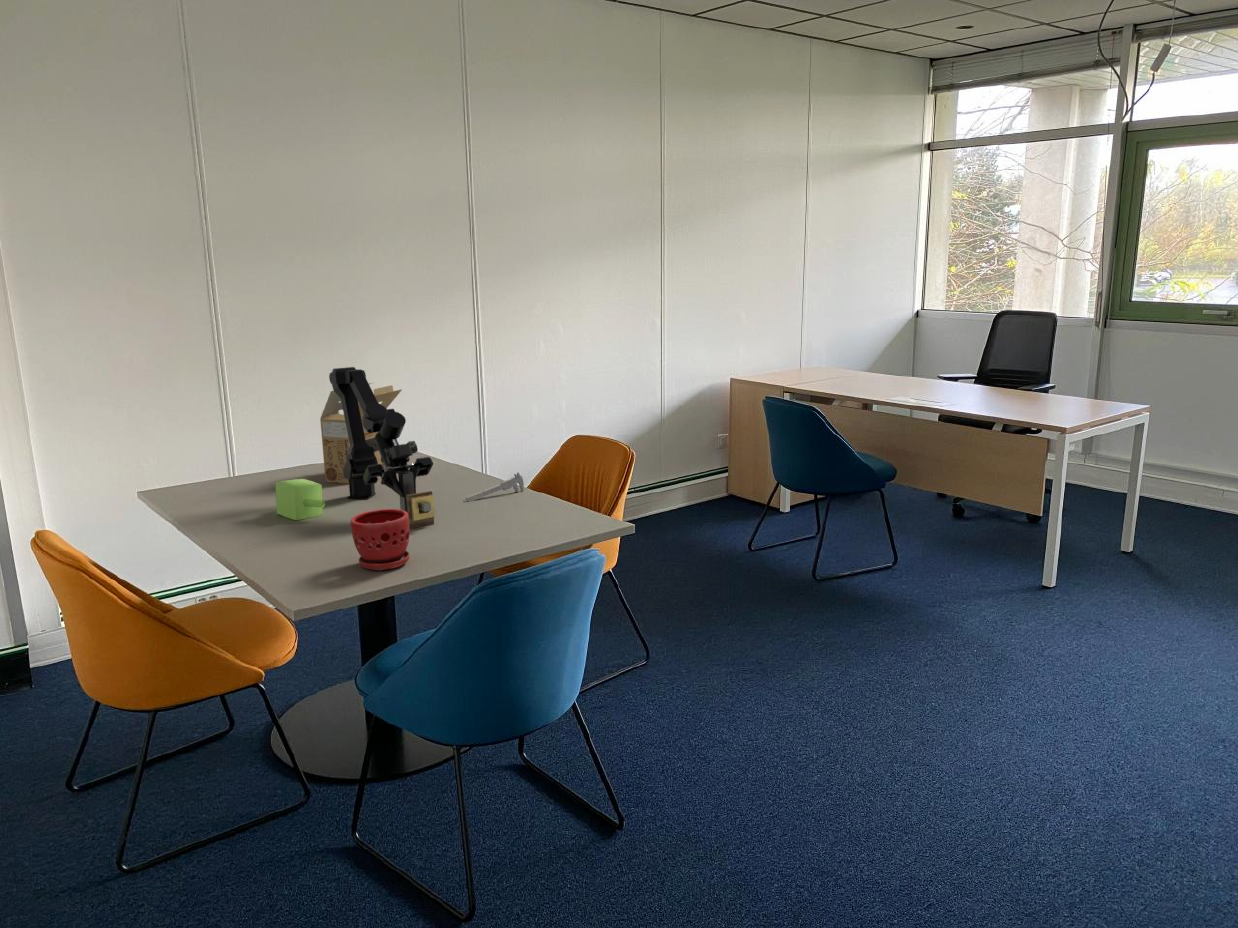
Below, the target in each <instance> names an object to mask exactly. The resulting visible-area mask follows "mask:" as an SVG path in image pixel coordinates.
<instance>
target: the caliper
mask: <svg viewBox="0 0 1238 928" xmlns="http://www.w3.org/2000/svg"><path fill="white" fill-rule="evenodd" d="M513 476H514V477H511V478H508V479H506V480H503V481H501V482H500V483H499V484H497V485H494V486H492V487H489V488H487V489H484V490H481V491H478V492H476V493H474V494H471V495H468V496H466V497H465V499H463V500H462V502H463V503H467V502H473V500H474V501H475V500H476V501H477V500H478V499H481V498H483V497H486V496H489V495H491V494H493V493H497V492H499V491H501V490H502V491H503V492H505V491H507V490H510V489H511V488H513V489H514V491H515V493H519V492H524V491H525V488H524V487H525V486H524V485H525V483H524V479H523V476H522V475H521V474H520V472H516V473H514V474H513ZM518 486H519V487H518ZM519 489H520V491H519Z"/></svg>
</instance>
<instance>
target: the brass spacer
mask: <svg viewBox="0 0 1238 928" xmlns="http://www.w3.org/2000/svg"><path fill="white" fill-rule="evenodd" d="M422 502H429V503H431V511H427V512H421V513H419V507H418V503H422ZM411 511H412V520H414V521H415V520H420V519H425V518H431V517H434V518H435V517H436V514H435V513H436V512H435V497H434V494H433V493H432V494H429V495H423V496H418V497H412V498H411Z"/></svg>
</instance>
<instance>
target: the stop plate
mask: <svg viewBox="0 0 1238 928" xmlns="http://www.w3.org/2000/svg"><path fill="white" fill-rule="evenodd" d="M429 494H433V491H432V490H428V491H423V492H416V494H410V495H406V497H407V513H408V517H409V528H410V530H411V529H416V528H421V527H426V526H430V525H431V526H432V525H435V517H431V518H425V519H420V520H415V521H414V520H412V511H411V498H412V497H418V496H423V495H429ZM421 512H423V511H421V510H419V513H421Z"/></svg>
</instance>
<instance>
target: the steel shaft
mask: <svg viewBox="0 0 1238 928" xmlns="http://www.w3.org/2000/svg"><path fill="white" fill-rule="evenodd" d="M397 479H398V481H399V483H400V485H401V488H402V490H403V492H404V497H403V498H402V497H401V496H400V495H399V507H400V509H399V510H403V511H406V512H407V497H406V495H410V494H414V479H413V472H410V471H404V472H398V474H397ZM418 507H419V510H421V511H423V512H427V511H431V503H429V502H422V503H418Z"/></svg>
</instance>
